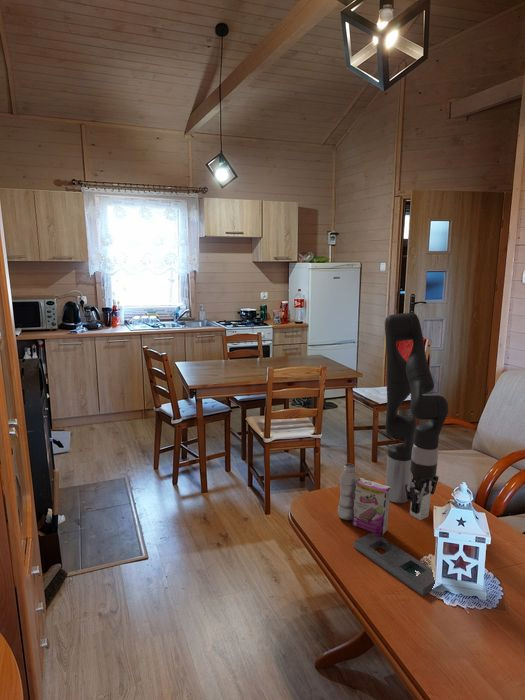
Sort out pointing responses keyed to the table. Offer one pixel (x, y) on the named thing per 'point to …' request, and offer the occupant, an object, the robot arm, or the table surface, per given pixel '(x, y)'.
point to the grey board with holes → (397, 562)
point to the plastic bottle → (347, 492)
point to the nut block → (422, 506)
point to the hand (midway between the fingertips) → (419, 509)
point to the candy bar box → (371, 506)
